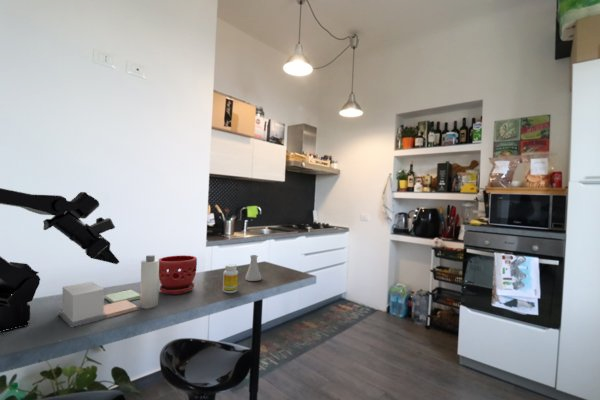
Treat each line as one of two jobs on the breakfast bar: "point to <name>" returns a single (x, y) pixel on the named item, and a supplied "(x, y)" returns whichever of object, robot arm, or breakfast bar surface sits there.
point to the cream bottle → (149, 282)
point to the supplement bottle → (230, 278)
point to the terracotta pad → (119, 308)
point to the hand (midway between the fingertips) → (115, 260)
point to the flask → (253, 270)
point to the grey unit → (82, 304)
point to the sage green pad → (122, 296)
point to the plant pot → (177, 274)
